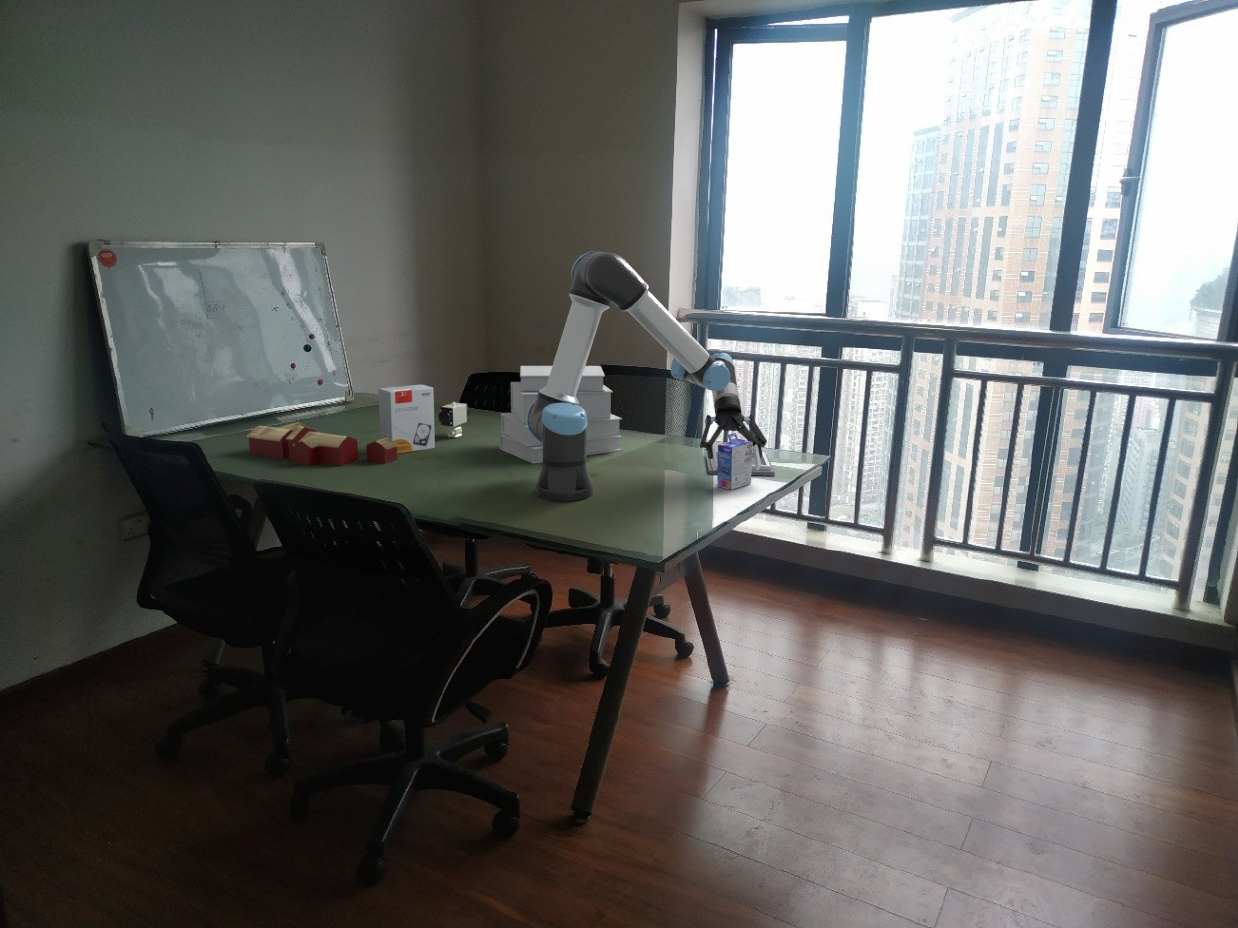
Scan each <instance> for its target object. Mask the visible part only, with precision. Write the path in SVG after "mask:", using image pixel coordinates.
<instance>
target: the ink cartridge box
mask: <svg viewBox="0 0 1238 928" xmlns="http://www.w3.org/2000/svg"><path fill="white" fill-rule="evenodd" d="M732 437H735V438H732ZM727 438H728V441H726V442H724V443H723V442H722V443H720V444H718V445H717V451H718V468H717V474H716V475H717V479H716V483H717V484H716V486H717V487H718V488H722V489H726V490H729V491H731V490H735V489H738V488H741V487H745V486H746V485H750V484H751V483H752V476H751V474H752V452H753V442H751V441H748V440H747V439H741V438H738V435H737V433H736V432H734V433H730V434H727ZM731 438H732V439H731Z"/></svg>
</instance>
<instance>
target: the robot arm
mask: <svg viewBox="0 0 1238 928" xmlns="http://www.w3.org/2000/svg"><path fill="white" fill-rule="evenodd" d="M570 272H571V282H572V283H571V286H570V287H571V288H570V290H569V293H568V295H569V298H570V300H571V305H570V308H569V312H568V315H567V318H566V321H565V324H564V325H565V326H564V329H563V332H562V334H561V337H560V341H559V344H558V348H557V349H556V350H557V351H556V354H555V357H554V359H553V363H552V365H551V366H552V369H551V372H550V375H549V379H548V382H547V385H546V386H545V387H544V388H542V389H540V390H539V392H538V395H537V399H536V401H535V402H534V403H533V404H532V405H531V406H530V408H529V410H528V412H527V425H528V428H529V430H530V432H531V433H532V435H533V436H534V437H535V438H536V439H538V440H539V441H540V442H542V443H543V463H542V466H541V469H540V473H539V476H538V479H537V481H536V486H535V490H536V491H535V492H536V496H538V497H540V498H542V499H544V500H547V501H548V500H549V501H555V502H556V501H557V502H558V501H559V502H570V501H571V502H573V501H581V500H584V499H587V498H589V497H591V496H592V495H593V494H594V487H593V482H592V479H591V475H590V473H589V470H588V466H587V456H586V452H587V417H586V412H585V410H584V409H583V408H582V407H580V406H578V405H579V402H578V400H577V398H576V393H577V390H578V387H579V384H580V381H581V378H582V374H583V371H584V368H585V366H587V361H588V358H589V355H590V353H591V349H592V345H593V342H594V340H595V335H596V333H597V331H598V327H599V324H600V320H601V318H602V314H603V313H604V312H605V311H607V310H609V309H610V307H611V304H614V305H615V306H616V307H617V308H618V309H619V310H620V311H621V312H628V313H629V314H630V315H631V316H632V317H633V318H634V319H635V320H636V321H637V322H638V324H640V325H641V326H642V327H643V328H644V330H646V331H647V332H648V333H649V334H650V335H651V337H653V338H654V339H655V340H656V341H657V343H659V344H660V345H661V346H662V347H663V348H664V349H665V350H666V351H667V352H668V353H669V355H670V356H672V357H673V358H672V361H671V364H670V373H671V376H672V377H673V378H674V379H677V380H680V381H686V382H688V383H689V382H690V383H692V384H694V385H697V386H699V387H702V388H704V389H706V390H708V391H711V394H712V399H713V400H712V402H713V409H714V414H715V416H711V415H710V414H706V417H705V420H704V424H705V426H704V429H703V433H702V437H701V440H700V444H699V447H700V448H701V449H703V448H704V449H705V451H706V453H707V454H708V458H709V459H712V465H713V471H716V469H717V467H718V463H717V456H716V451H717V450H716V445H714V444H715V442H716V441H717V439H718V438H719V436H720V435H721V434H722V432H723V431H724V432H737V433H738V434H741V436H743V437H744V439H745V440H746V441H751V442H753V446H752V452H753V455H754V461H755V466H756V470H759V468H760V466H761V462H760V458H761V457H762V452H763V450H762V448H765V446H766V445H767V442H768V440H767V438H766V437H765V435H764V434H763V432H762V431H761V429H760V428H759V426H758V424H757V422H756V421H755V417H754V415H753V414H749V416H744V415H743V412H742V406H741V401H740V395H739V389H738V382H737V377H736V368H735V365H734V361H733V358H732V356H731V355H730V354H728V353H725V352H721V353H717V352H716V353H714V354H712V355H711V354H710V353H709V352H708V351H707V350H706V349H705V348H704V347H703V345H701V344H700V343H699V342H698V340H697V339H695V337H693V336H692V334H691V333H689V331H688V330H687V329H686V328H685V327H684V326H683V325H682V324H681V323H680V322H679V321H678V320H677V319H676V318H675V316H673V315H672V314H671V312H670V311H668V309H667V308H666V307H664V305H663V304H662V303H661V302H660V301H659V300H658V299H657V298H656V297H655V296H654V295H653V294H652V293H651V292H650V291H649V284H648V283H647V282H646V281H645V280H644V279H643V278H642V276H640V274H638V272H637V271H636V270H635V269H634V268H633V266H631V265H630V264H629V262H628V261H627V260H625V259H624V258H623V257H622V256H620V255H619V254H617V253H613V252H604V251H599V250H592V251H588V252H586V253H583V254H582V255H580V256H579V257H578V258H577V259H576V260H575V262H574V263H573V265H572V268H571V271H570ZM744 422H745V423H746V425H748V427H749V429H750V430H749V429H748V427H747V426H746V425H745V423H744ZM714 423H715V424H716V425H717V428H716V429H715V432H714V433H713V434H712V435H711V437H710V439H709V441H707V438H708V435H709V431H710V429H711V425H713V424H714Z"/></svg>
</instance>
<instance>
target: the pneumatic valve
mask: <svg viewBox="0 0 1238 928" xmlns="http://www.w3.org/2000/svg"><path fill="white" fill-rule="evenodd" d="M439 410H440V412H438V422H440V426H446V427H447V430H448V431H447V437H448V438H454V439H457V438H460V437H462V436H463V434H462V432H463V430H462V429H463V427H462V426H461V425H462V424H465V423H468V422H469V418H468V417H469V416H470V409H469V407H468V403H463V402H456V401H452V402H451V403H449V404H445V405H443V406H440V408H439Z"/></svg>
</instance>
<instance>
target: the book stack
mask: <svg viewBox="0 0 1238 928" xmlns="http://www.w3.org/2000/svg"><path fill="white" fill-rule="evenodd" d="M552 366H553V365H520V370H519V371H520V373H519V377H520V381H511V382H510V412H502V413H500V432H501V434H499V449H500V450H501V451H503V452H506V453H508V454H509V455H512V456H514V457H517V458H519V459H522V460H523V461H526V462H528V463H531V464H533V465H535V464H537V465H538V464H543V443H542V442H540V441H539V440H538V439H536V438H535V437H534V436H533V435H532V433H531V432H530V430H529V428H528V425H527V412H528V410H529V408H530V406H531V405H532V404H533V403H534V402H535V401H536V399H537V395H538V392H539V390H540V389H542V388H544V387H545V386H546V385H547V382H548V379H549V375H550V372H551V369H552ZM604 377H606V375H605V372H604V371H603V368H602V366H601V365H585V368H584V371H583V374H582V378H581V381H580V384H579V387H578V390H577V393H576V398H577V400H578V402H579V405H578V406H580V407H582V408H583V409H584V410H585V412H586V417H587V452H586V457H587V456H594V455H600V454H607V453H613V452H620V451H622V449H621V448H620V438H623V436H622V435H621V434H620V421H621V420H623V419H622V417H620V416H617V415H615V414H612V413H611V411H612V410H611V409H612V408H611V406H612V405H611V403H612V402H611V401H612V399H611V398H612V397H611V396H612V395H611V394H612V393H614V391H613V390H611V389H610V388H609V387H607V386H606V385H604Z"/></svg>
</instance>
